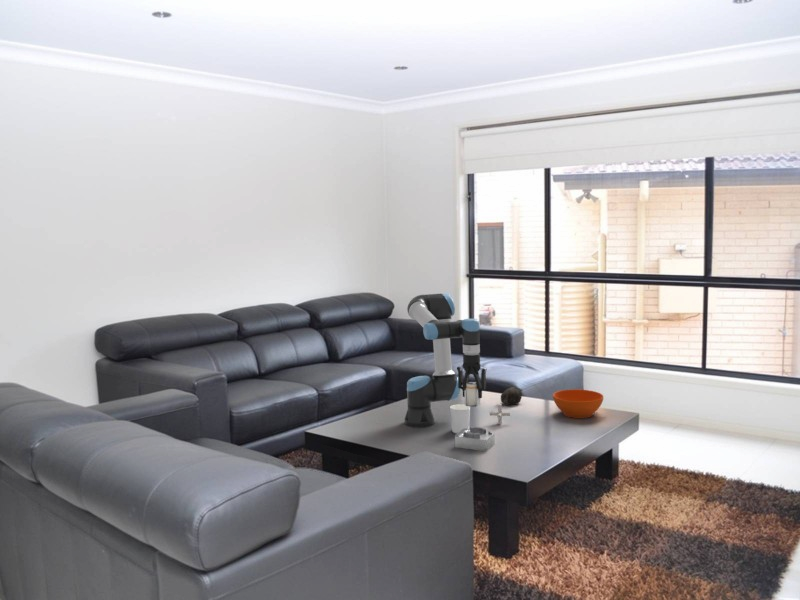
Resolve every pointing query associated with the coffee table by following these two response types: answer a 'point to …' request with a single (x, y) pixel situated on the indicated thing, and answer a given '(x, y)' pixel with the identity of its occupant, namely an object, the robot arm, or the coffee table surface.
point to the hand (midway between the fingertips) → (472, 404)
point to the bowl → (578, 402)
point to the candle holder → (460, 417)
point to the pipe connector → (500, 413)
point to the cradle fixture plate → (475, 439)
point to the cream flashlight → (471, 394)
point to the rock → (511, 396)
